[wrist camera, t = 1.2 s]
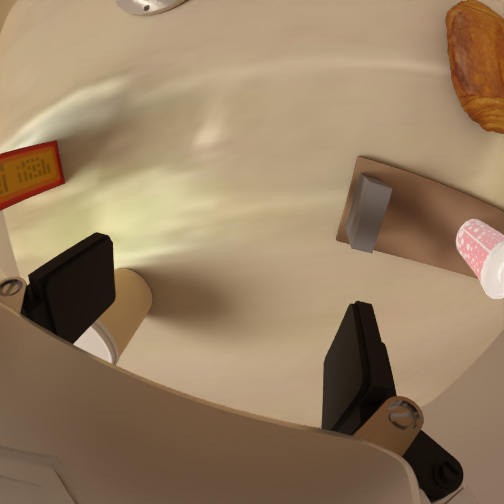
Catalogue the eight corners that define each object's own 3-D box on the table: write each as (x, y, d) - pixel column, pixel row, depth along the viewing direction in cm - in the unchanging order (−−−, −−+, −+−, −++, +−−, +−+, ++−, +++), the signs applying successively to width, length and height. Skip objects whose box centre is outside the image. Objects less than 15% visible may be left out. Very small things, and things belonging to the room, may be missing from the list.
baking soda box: (31, 195, 36) (-45, 232, 22) (23, 158, 34) (-56, 186, 19) (65, 183, 34) (-25, 222, 20) (56, 140, 31) (-37, 165, 17)
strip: (357, 156, 26) (369, 163, 21) (511, 215, 24) (537, 232, 19) (336, 237, 30) (341, 262, 25) (486, 278, 28) (506, 302, 23)
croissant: (429, 111, 25) (459, 121, 18) (432, -9, 16) (459, -28, 9) (519, 144, 22) (555, 164, 16) (525, 36, 14) (562, 36, 7)
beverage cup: (465, 267, 29) (520, 340, 16) (438, 240, 28) (499, 312, 16) (494, 230, 26) (561, 290, 13) (469, 199, 25) (545, 253, 13)
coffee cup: (111, 250, 37) (54, 295, 26) (166, 286, 37) (120, 344, 27) (100, 295, 41) (54, 342, 30) (148, 328, 41) (110, 383, 31)
